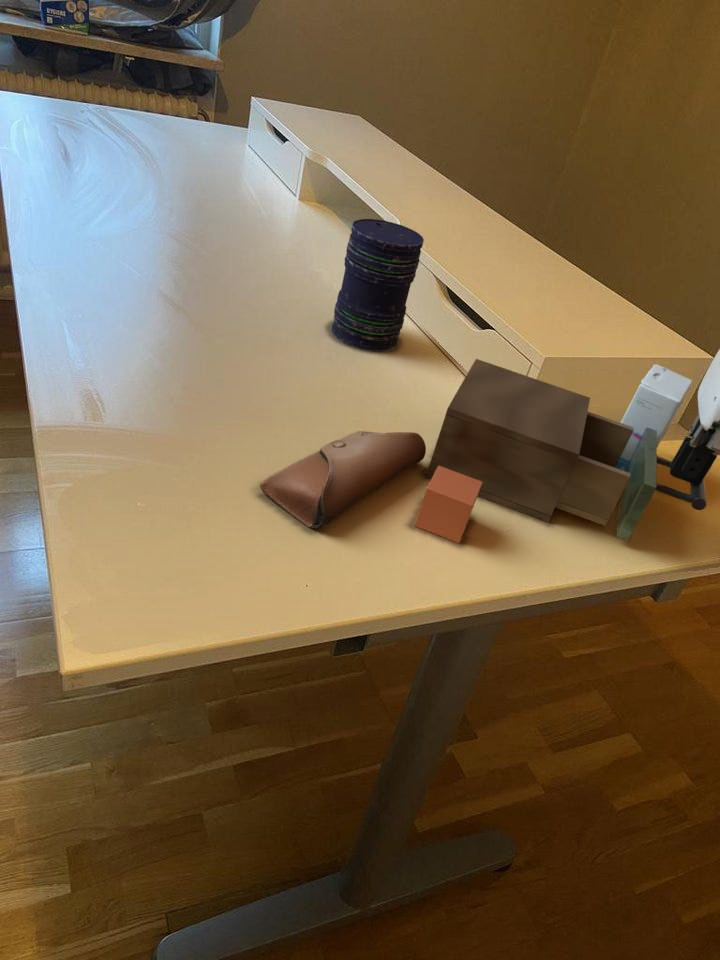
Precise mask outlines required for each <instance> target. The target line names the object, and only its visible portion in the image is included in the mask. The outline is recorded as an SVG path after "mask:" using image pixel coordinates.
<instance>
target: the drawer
mask: <svg viewBox="0 0 720 960" xmlns="http://www.w3.org/2000/svg"><path fill="white" fill-rule="evenodd" d="M633 430H634V428H633V427H631V426H628V425H625V424H622V423H621V422H619V421H616V420H613V419H611V418H607V417H605V416H603V415H602V416H601V415H599V414H596V413H593V412H590V411H588V412H587V417H586V422H585V427H584V433H583V438H582V443H581V448H580V453H579V456H578V459H577V460H576V463H575V465H574V467H573V470H572V472H571V474H570V476H569V478H568V481H567V483H566V485H565V487H564V489H563V492H562V494H561V496H560V498H559V500H558V503H557V505H556V507H555V509H559V510H561V511H564V512H567V513H569V514H572V515H574V516H578V517H580V518H583V519H585V520H587V521H592V522H594V523H596V524H599V525H602V526H607V524H608V522H609V520H610V518H611V517H612V515H613V512H614V510H615V508H616V506H617V504H619V505H618V516H617V527H616V537H617V538H619V539H621V540H624V541H627V542H628V541H629V539H630V538H631V536H632V534H633V532H634V530H635V529H636V527H637V525H638V523H639V521H640V519H641V518H642V516H643V514H644V512H645V510H646V508H647V506H648V504H649V503H650V500H651V499H652V497H653V495H654V494H655V492H659V493H661V494H663V495H666V496H670V497H672V498H675V499H678V500H680V501H684V502H686V503H689V504H690V506H691V508H692V509H694V510H695V511H702V510H704V509H706V507H707V495H706V486H705V485H706V484H705V478H704V479H703V481H702V482H701V484H700V485H694V484H692V483H689V491H690V492H689V493H690V494H689V493H686V492H684V491H680V490H678V489H675V488H672V487H669V486H668V485H667V486H666V485H664V484H661V483H659V482H657V472H658V471H657V470H658V469H657V468H658V467H657V465H660V466H662V467H666V468H669V469H670V464H671V462H672V461H673V460H669V459H667V458H664V457H660V456H658V447H657V431H656V430H653V429H650V428H647V427H646V429H645V431H644V433H643V435H642V437H641V439H640V441H639V443H638V445H637V447H636V449H635V451H634V453H633V455H632V457H631V459H630V461H629V463H628V465H627V467H626V469H625V471H623V470H620V469H617V468H615V467H616V465H617V463H618V461H619V459H620V457H621V455H622V453H623V451H624V449H625V447H626V445H627V443H628V441H629V439H630V437H631V435H632V433H633ZM618 502H619V503H618Z"/></svg>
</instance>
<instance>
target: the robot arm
mask: <svg viewBox="0 0 720 960" xmlns="http://www.w3.org/2000/svg"><path fill="white" fill-rule="evenodd" d="M706 370H707V371H706V372H705V375H704V376H703V378H702V381H701V383H700V384H699V387H698V391H697V406H698V413H697V415H696V417H695V419H694V421H693V423H692V425H691V426H690V429H689V430H688V434H687V435H688V436H685V437H684V438H683V441H682V443H681V444H680V446H679V448H678V450H677V452H676V453H675V455H674V457H673V459H672V460H671V461H672V462H671V464H670V468H669V476H671V477H673V478H675V479H678V480H681V481H683V482H686V483H689V484H690V483H692V484H694V485H700V484H701V482H702V481H703V479H704V480H705V478H706V476H707V474H708V472H709V471H710V470H711V468H712V466H713V464H714V463H715V461H716V459H717V457H718V456H719V455H720V348H719V349H718V351H717V352H716V354H715V356H714V358H713V359H712V361H711V363H710V365H709V367H708V369H706Z"/></svg>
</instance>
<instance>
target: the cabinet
mask: <svg viewBox="0 0 720 960" xmlns="http://www.w3.org/2000/svg"><path fill="white" fill-rule="evenodd" d="M590 401H591V397H589V396H586V395H584V394H580V393H577V392H574V391H572V390H569V389H566V388H563V387H561V386H557V385H554V384H552V383H548V382H545V381H543V380H540V379H537V378H533V377H531V376H528V375H526V374H522V373H519V372H516V371H513V370H511V369H507V368H504V367H502V366H498V365H497V364H493V363H490V362H486V361H485V360H481V359H478V358H475V360H474V361H473V363H472V365H471V366H470V368H469V370H468V372H467V373H466V375H465V377H464V379H463V381H462V382H461V383H460V385H459V387H458V389H457V391H456V392H455V395H454V396H453V398H452V400H451V401H450V403H449V405H448V407H447V408H446V412H445V415H444V419H443V421H442V424H441V427H440V430H439V434H438V437H437V440H436V443H435V447H434V450H433V453H432V457H431V459H430V462H429V466H428V469H427V472H426V475H425V476H426V477H427V478H429V479H432V477H433V475H434V473H435V471H436V469H437V467H438V466H441V467H444V468H447V469H449V470H452V471H455V472H457V473H460V474H463V475H465V476H468V477H471V478H474V479H476V480H479V481H482V482H483V483H482V486H481V488H480V491H479V494H478V496H477V497H480V498H482V499H485V500H487V501H490V502H493V503H496V504H498V505H502V506H503V507H506V508H509V509H512V510H514V511H518V512H520V513H522V514H525V515H528V516H531V517H532V518H536V519H538V520H541V521H544V522H546V523H549V522H550V521H551V518H552V516H553V514H554V511H555V510H556V505H557V503H558V500H559V498H560V496H561V494H562V492H563V489H564V487H565V485H566V483H567V481H568V478H569V476H570V474H571V472H572V470H573V467H574V465H575V463H576V460H577V459H578V456H579V453H580V448H581V443H582V438H583V433H584V427H585V422H586V417H587V412H589V406H590Z"/></svg>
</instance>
